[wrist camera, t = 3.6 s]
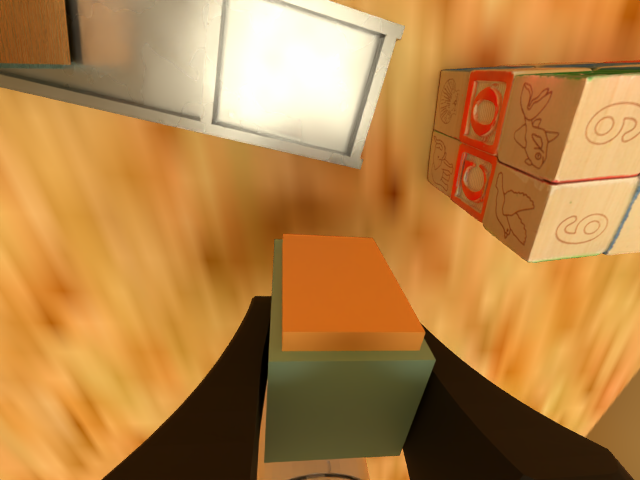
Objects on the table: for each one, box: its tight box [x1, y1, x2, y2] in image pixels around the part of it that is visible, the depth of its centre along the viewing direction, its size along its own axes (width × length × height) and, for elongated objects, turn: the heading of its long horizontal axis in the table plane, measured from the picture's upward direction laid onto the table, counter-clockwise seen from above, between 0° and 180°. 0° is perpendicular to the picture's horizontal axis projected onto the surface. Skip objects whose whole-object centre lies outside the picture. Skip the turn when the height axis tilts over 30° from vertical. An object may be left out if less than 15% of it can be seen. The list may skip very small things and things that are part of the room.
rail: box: [0, 0, 405, 169], centre depth 12 cm, size 6×19×7 cm, turn 76°
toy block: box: [264, 234, 436, 463], centre depth 11 cm, size 4×5×6 cm
